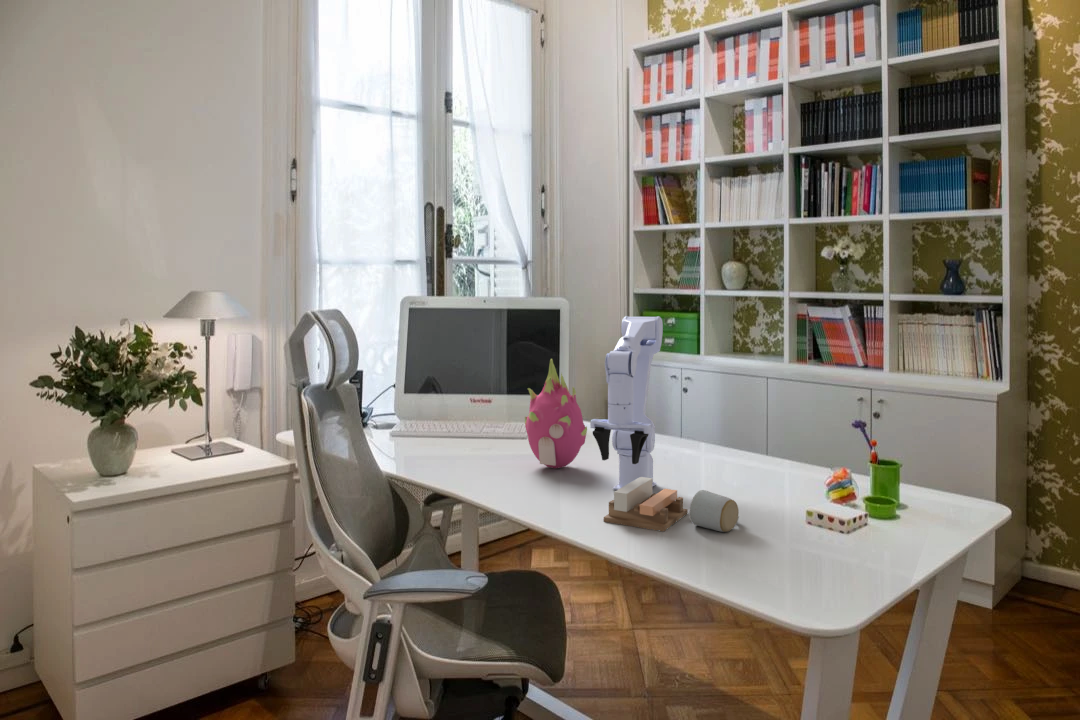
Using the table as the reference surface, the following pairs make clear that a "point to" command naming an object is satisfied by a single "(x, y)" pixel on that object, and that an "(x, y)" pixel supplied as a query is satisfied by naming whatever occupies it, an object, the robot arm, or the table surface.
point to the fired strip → (658, 502)
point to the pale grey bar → (632, 494)
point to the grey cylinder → (713, 511)
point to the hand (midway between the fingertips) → (620, 461)
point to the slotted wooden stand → (655, 522)
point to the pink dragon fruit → (555, 423)
